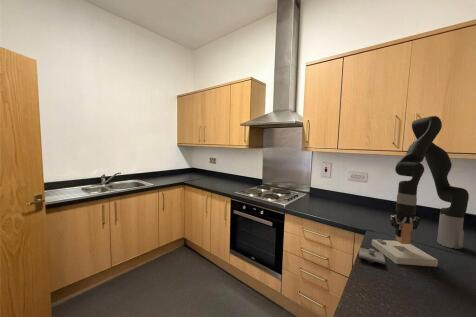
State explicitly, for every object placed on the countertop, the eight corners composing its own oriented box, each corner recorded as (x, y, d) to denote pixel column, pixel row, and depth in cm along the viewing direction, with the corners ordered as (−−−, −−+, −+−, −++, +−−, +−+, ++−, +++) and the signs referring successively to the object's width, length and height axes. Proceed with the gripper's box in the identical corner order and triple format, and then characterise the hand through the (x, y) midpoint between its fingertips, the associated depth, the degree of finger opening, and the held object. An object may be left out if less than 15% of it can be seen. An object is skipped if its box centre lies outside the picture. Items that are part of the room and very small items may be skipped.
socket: (405, 247, 109) (406, 240, 109) (437, 266, 91) (438, 258, 91) (371, 244, 109) (372, 238, 109) (396, 263, 92) (396, 255, 91)
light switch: (382, 258, 96) (383, 248, 96) (385, 268, 87) (386, 257, 87) (358, 252, 101) (359, 242, 100) (358, 261, 92) (359, 250, 92)
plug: (403, 240, 102) (405, 217, 101) (410, 244, 98) (412, 220, 97) (395, 240, 102) (397, 216, 101) (401, 243, 98) (403, 219, 97)
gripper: (414, 201, 102) (411, 234, 103) (386, 199, 103) (383, 232, 104) (428, 205, 95) (424, 241, 96) (397, 203, 95) (393, 239, 96)
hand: (403, 236), depth 100 cm, fingers closed on plug, 4 cm apart
